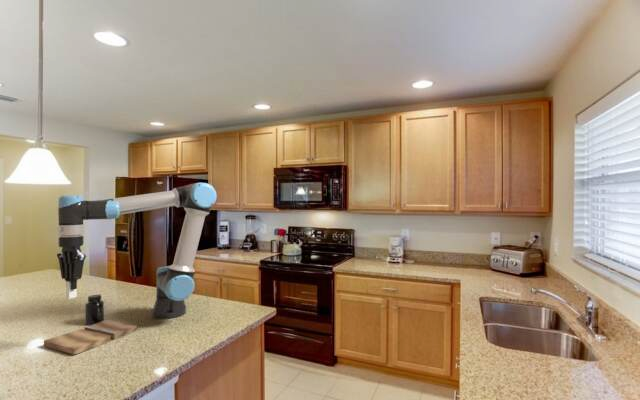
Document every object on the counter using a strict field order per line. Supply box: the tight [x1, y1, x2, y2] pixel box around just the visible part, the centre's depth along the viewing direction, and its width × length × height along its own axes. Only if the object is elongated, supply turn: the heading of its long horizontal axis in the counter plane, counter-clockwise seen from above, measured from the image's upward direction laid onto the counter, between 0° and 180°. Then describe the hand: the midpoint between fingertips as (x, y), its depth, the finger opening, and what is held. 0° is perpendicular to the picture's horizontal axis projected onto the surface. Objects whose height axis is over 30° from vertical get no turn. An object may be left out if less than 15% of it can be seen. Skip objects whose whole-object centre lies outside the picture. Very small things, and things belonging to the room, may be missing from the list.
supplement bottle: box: [84, 294, 105, 326], centre depth 145 cm, size 7×7×12 cm
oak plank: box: [43, 328, 112, 355], centre depth 123 cm, size 13×18×2 cm
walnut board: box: [84, 319, 138, 341], centre depth 135 cm, size 10×18×2 cm, turn 68°
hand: (71, 297), depth 124 cm, fingers closed
